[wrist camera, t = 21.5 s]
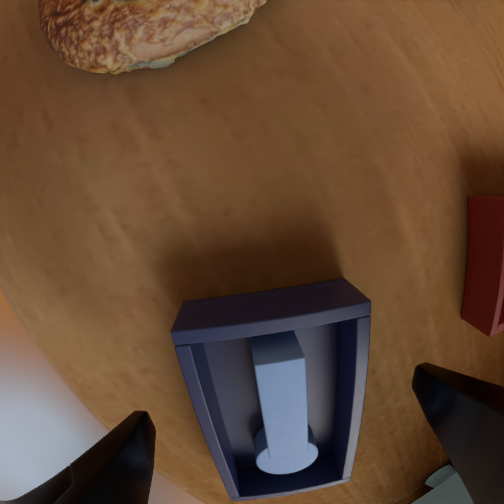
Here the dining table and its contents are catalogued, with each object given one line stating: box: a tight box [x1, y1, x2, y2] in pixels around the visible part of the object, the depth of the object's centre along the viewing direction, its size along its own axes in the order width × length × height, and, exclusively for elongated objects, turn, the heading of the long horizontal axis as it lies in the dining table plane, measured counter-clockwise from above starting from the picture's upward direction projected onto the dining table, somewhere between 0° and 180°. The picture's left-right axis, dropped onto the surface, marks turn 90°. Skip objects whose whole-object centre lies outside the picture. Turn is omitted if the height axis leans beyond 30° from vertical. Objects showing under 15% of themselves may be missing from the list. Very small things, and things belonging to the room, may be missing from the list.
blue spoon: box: [251, 330, 318, 474], centre depth 10 cm, size 8×3×2 cm, turn 7°
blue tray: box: [171, 278, 371, 501], centre depth 10 cm, size 10×6×2 cm, turn 7°
